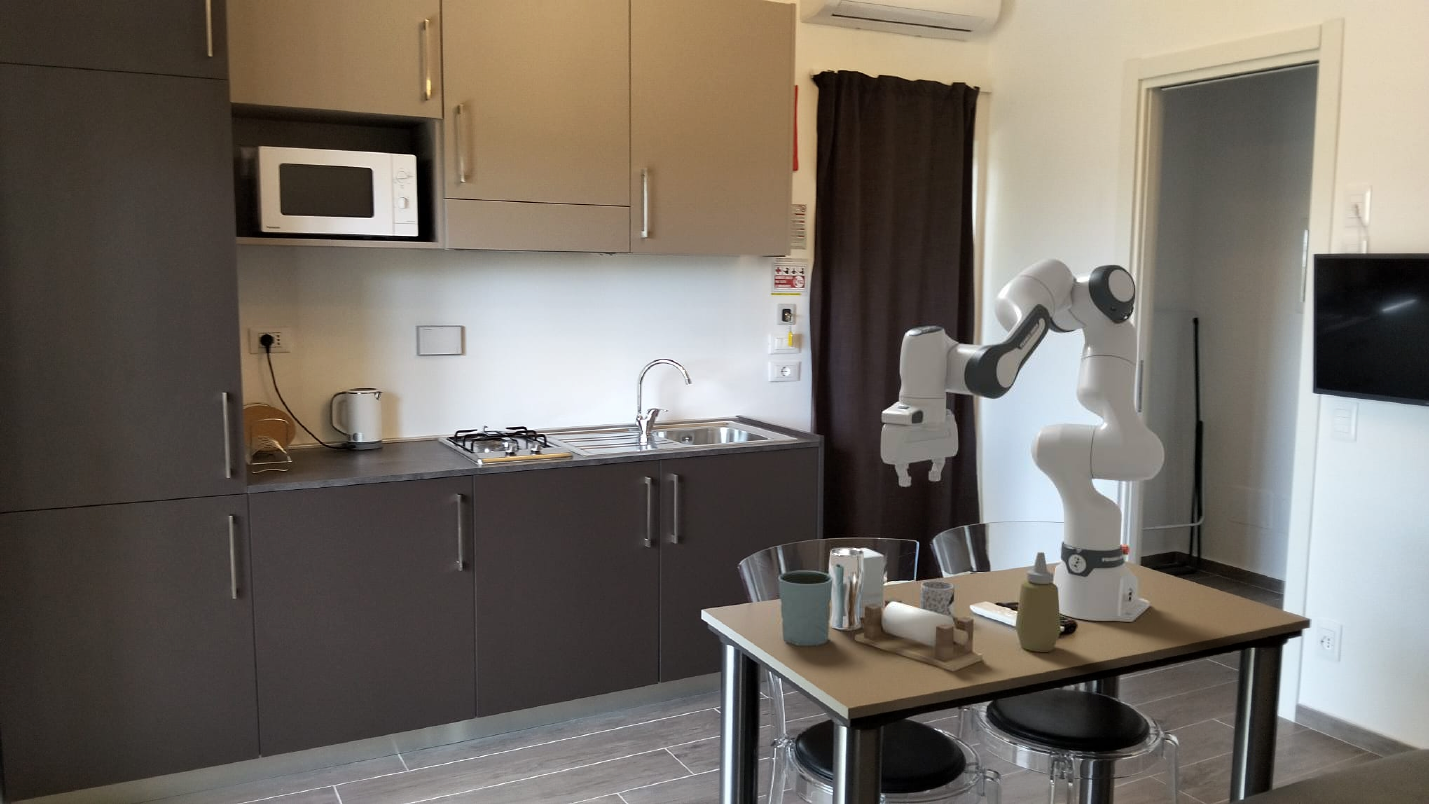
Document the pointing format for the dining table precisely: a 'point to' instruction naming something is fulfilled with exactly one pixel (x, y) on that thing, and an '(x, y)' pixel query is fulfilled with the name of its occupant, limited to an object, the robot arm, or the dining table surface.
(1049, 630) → the squeeze bottle
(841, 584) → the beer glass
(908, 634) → the paper roll
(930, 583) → the mug
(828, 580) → the embossed teal cup
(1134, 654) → the dining table surface
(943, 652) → the roll holder
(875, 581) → the supplement box
